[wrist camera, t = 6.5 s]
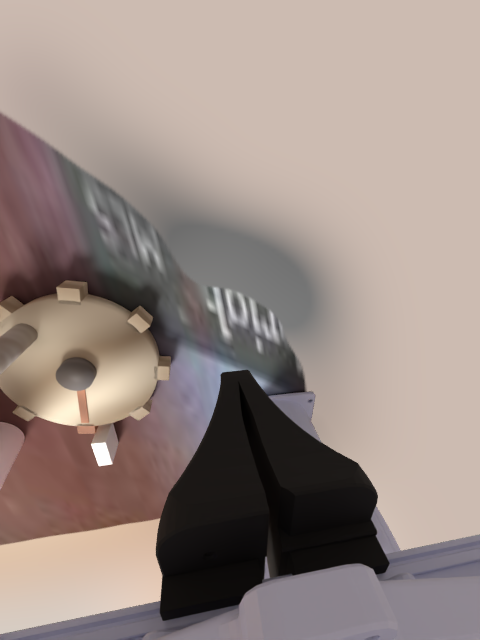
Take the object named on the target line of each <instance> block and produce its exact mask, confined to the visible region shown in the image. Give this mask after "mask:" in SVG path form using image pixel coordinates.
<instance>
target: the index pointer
mask: <svg viewBox="0 0 480 640" xmlns="http://www.w3.org/2000/svg"><path fill="white" fill-rule="evenodd" d="M118 443H119V442H118V439H117V435H116V432H115V428H114V425H113V423H109V424H105V425H99V426H98V428H97V431H96V433H95V435H94V438H93V440H92V443H91V445H92V448H93V451H94V454H95V457H96V459H97V462H98V465H99V466H102V465H110V464H112V463H113V460H114V457H115V453H116V450H117V447H118Z"/></svg>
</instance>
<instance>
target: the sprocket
mask: <svg viewBox="0 0 480 640" xmlns="http://www.w3.org/2000/svg"><path fill="white" fill-rule="evenodd" d="M56 289H57V293H56V294H51V295H46V296H42V297H40V298H37V299H34V300H32V301H30V302H28V303H27V304H25V305H24V304H22V303H21V302H20V301H18V300H17V299H16V298H14V297H13V296H10V297H9V298H7V299H5V300H4V301H2V302H0V388H1V390H2V391H3V392H4V393H5V394H6V395H7V396H8V397H9V398H10V399H11V400H12V401H13V402H15V403H16V404H17V405H18V406H17V407H16V409H15V410H14V411H13V412H12V413H14V414H15V415H17V416H19V417H21V418H23V419H24V420H26V421H30V420H31V419H32V418H33V417H35V416H38V417H40V418H43V419H45V420H48V421H52V422H55V423H60V424H64V425H71V426H77V428H78V434H95V433H96V431H97V428H98V426H99V425H105V424H109V423H113V422H116V421H119V420H122V419H124V418H126V417H128V416H132V417H133V418H135V419H136V420H138V421H139V420H140V419H142V418H143V417H144V416H146V415H147V414H149V413H150V409H151V404H152V400H150V399H149V398H150V397H151V395H152V393H153V391H154V389H155V387H156V383H157V380H169V375H170V364H171V356H160V355H159V350H158V346H157V344H156V341H155V339H154V337H153V336H152V334H151V332H150V331H149V329H148V328H149V327H150V326H151V323H152V320H153V317H152V316H151V315H150V314H149V313H148V312H147V311H146V310H145V309H144V308H142V307H141V306H139V307H137V308H136V309H135V310H134V311H132V312H130V311H129V310H127V309H125V308H124V307H122V306H120V305H118V304H116V303H114V302H112V301H110V300H107V299H104V298H101V297H98V296H94V295H90V294H88V287H87V282H79V281H68V280H66V281H64V282H63V283H62V284H60V285H59V286H57V287H56Z"/></svg>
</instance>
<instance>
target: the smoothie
mask: <svg viewBox="0 0 480 640" xmlns="http://www.w3.org/2000/svg"><path fill="white" fill-rule="evenodd" d="M24 440H25V436H24V434H23V432H22V431H21V430H20V429H19V428H17V427H16V426H14V425H12V424H9V423H5V422H0V490H1V488H2V485H3V483H4V481H5V479H6V477H7V475H8V473H9V471H10V469H11V467H12V465H13V463H14V461H15V459H16V457H17V455H18V453H19V451H20V449H21V447H22V445H23V443H24Z"/></svg>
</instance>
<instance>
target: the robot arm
mask: <svg viewBox="0 0 480 640" xmlns="http://www.w3.org/2000/svg"><path fill="white" fill-rule="evenodd" d="M314 401H315V394H314V393H313V392H301V393H291V394H281V395H271V396H268V395H267V394H266V393H265V392H264V391H263V389H262V388H261V387H260V386H259V384H258V383H257V382H256V380H255V379H254V377H253V376H252V374H251V373H250V371H248V370H242V371H232V372H223V373H222V374H221V385H220V391H219V395H218V399H217V403H216V407H215V410H214V413H213V416H212V418H211V421H210V424H209V426H208V428H207V431H206V433H205V435H204V437H203V439H202V441H201V443H200V445H199V447H198V449H197V451H196V453H195V455H194V456H193V458H192V460H191V461H190V463H189V464H188V466H187V468H186V469H185V471H184V472H183V474H182V475H181V477H180V478H179V480H178V481H177V482H176V484H175V485H174V487H173V488H172V489H171V491H170V492H169V494H168V497H167V500H166V503H165V506H164V509H163V512H162V515H161V519H160V523H159V528H158V533H157V543H156V557H157V560H158V563H159V566H160V569H161V572H162V575H163V577H162V589H161V601H158V602H153V603H148V604H144V605H139V606H134V607H129V608H125V609H120V610H115V611H110V612H105V613H100V614H96V615H91V616H86V617H81V618H76V619H72V620H67V621H62V622H57V623H52V624H48V625H43V626H38V627H34V628H29V629H24V630H19V631H14V632H9V633H5V634H0V640H480V535H475V536H471V537H466V538H461V539H456V540H451V541H446V542H441V543H437V544H432V545H427V546H422V547H417V548H412V549H408V550H403V551H401V550H400V548H399V546H398V544H397V543H396V541H395V539H394V537H393V535H392V533H391V531H390V529H389V527H388V526H387V524H386V522H385V520H384V518H383V517H382V515H381V514H380V512H379V510H378V508H377V507H376V504H377V498H378V495H377V492H376V490H375V488H374V486H373V485H372V483H371V481H370V480H369V478H368V477H367V475H366V474H365V472H364V471H363V470H362V469H361V467H360V466H359V464H358V463H356V462H354V461H353V460H351V459H349V458H347V457H345V456H343V455H342V454H340V453H337V452H336V451H334V450H333V449H331V448H329V447H328V446H326V445H324V444H323V443H321V440H320V438H319V437H318V434H317V432H316V430H315V428H314V426H313V424H312V422H311V418H312V412H313V407H314Z"/></svg>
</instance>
